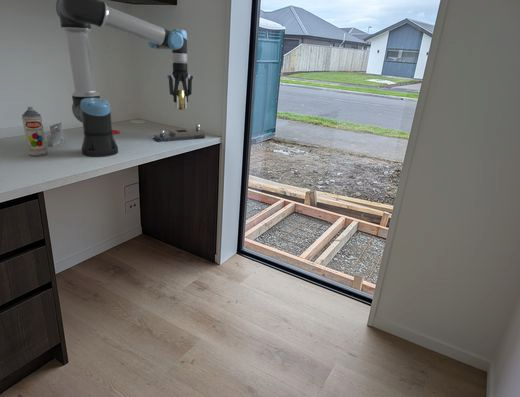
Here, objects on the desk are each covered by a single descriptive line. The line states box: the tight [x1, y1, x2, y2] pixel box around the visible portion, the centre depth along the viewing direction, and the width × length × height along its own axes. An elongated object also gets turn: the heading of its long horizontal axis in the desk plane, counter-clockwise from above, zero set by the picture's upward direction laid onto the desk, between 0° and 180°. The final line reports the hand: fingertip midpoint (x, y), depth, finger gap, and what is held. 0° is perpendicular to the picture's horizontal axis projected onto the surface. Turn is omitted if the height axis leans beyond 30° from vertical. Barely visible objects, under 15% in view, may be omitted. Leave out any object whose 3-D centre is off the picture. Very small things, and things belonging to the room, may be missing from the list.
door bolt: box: [153, 123, 206, 143], centre depth 199 cm, size 26×9×7 cm, turn 124°
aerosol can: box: [21, 106, 48, 158], centre depth 152 cm, size 7×7×20 cm
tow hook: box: [112, 129, 121, 136], centre depth 202 cm, size 8×13×9 cm
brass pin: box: [177, 89, 186, 111], centre depth 193 cm, size 4×4×10 cm
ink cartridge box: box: [45, 122, 65, 148], centre depth 171 cm, size 2×11×10 cm, turn 1°
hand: (181, 108), depth 195 cm, fingers closed on brass pin, 4 cm apart
